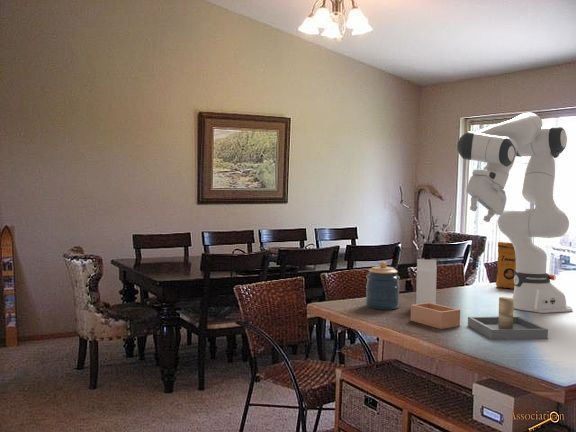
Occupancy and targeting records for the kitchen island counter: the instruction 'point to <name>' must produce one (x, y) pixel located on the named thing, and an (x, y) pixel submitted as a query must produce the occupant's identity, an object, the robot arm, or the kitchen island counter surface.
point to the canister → (382, 288)
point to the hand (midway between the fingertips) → (479, 215)
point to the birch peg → (506, 313)
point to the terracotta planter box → (435, 315)
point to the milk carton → (426, 281)
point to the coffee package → (506, 265)
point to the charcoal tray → (519, 331)
